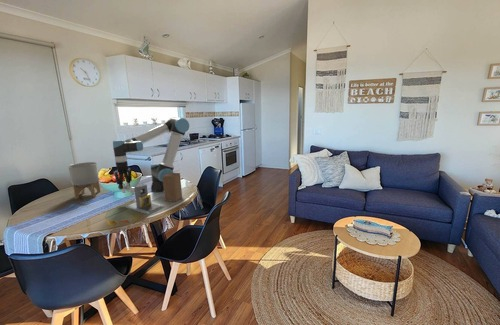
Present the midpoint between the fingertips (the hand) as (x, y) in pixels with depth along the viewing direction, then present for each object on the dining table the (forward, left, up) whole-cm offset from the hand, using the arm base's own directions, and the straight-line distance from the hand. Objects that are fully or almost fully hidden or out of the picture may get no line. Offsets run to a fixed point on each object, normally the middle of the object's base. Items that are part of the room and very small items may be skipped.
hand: (125, 191), depth 181 cm
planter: (-18, -41, -9) cm, 46 cm away
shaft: (+4, +6, +1) cm, 7 cm away
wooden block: (-5, +34, -9) cm, 35 cm away
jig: (+10, +18, -9) cm, 22 cm away
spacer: (+11, +19, -7) cm, 23 cm away
